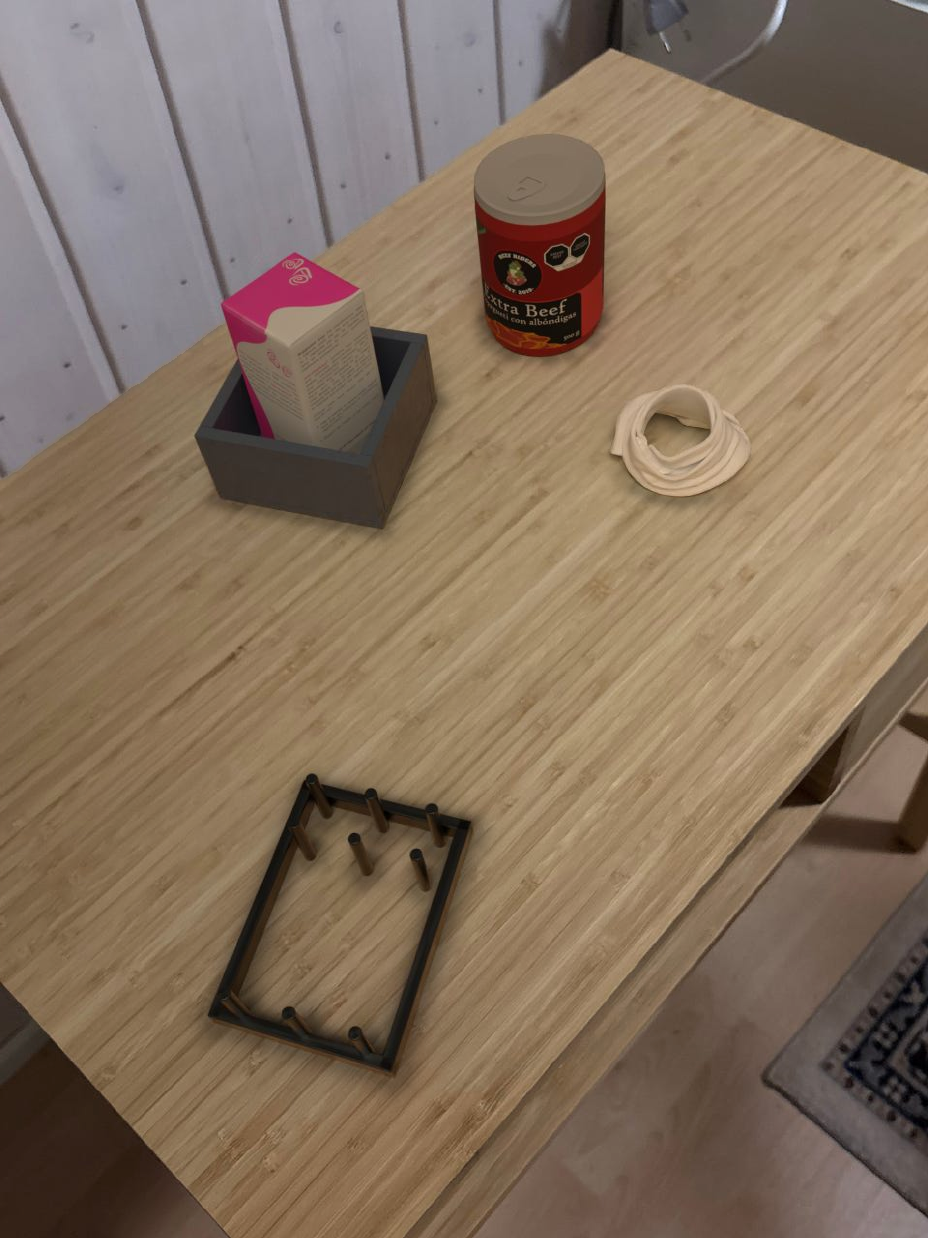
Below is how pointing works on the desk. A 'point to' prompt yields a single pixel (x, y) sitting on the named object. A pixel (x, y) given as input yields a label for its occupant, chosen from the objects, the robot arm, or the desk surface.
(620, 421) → the cream coiled cloth
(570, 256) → the canned food
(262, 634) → the desk surface
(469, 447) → the desk surface
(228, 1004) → the dish rack
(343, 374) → the supplement box
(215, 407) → the dark grey storage bin
